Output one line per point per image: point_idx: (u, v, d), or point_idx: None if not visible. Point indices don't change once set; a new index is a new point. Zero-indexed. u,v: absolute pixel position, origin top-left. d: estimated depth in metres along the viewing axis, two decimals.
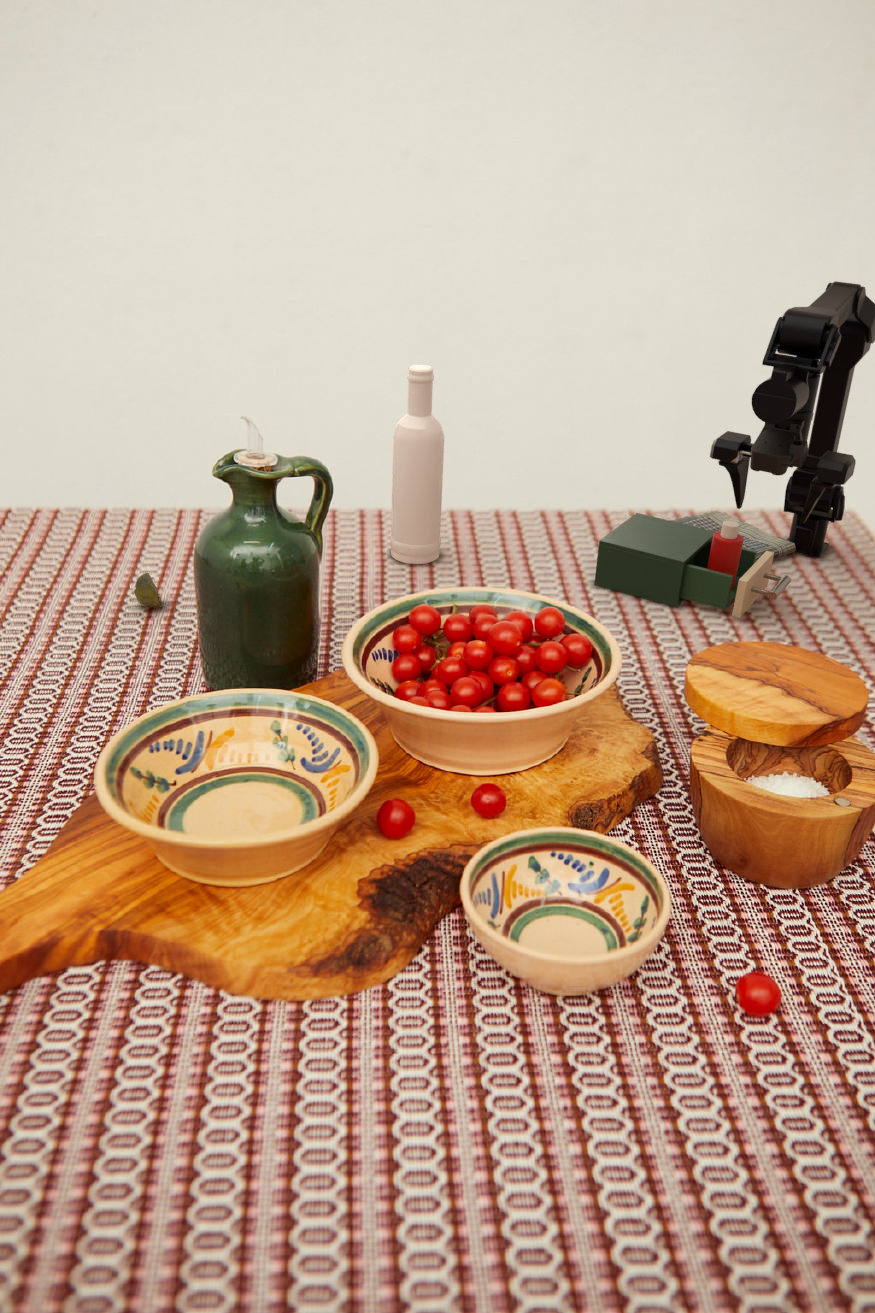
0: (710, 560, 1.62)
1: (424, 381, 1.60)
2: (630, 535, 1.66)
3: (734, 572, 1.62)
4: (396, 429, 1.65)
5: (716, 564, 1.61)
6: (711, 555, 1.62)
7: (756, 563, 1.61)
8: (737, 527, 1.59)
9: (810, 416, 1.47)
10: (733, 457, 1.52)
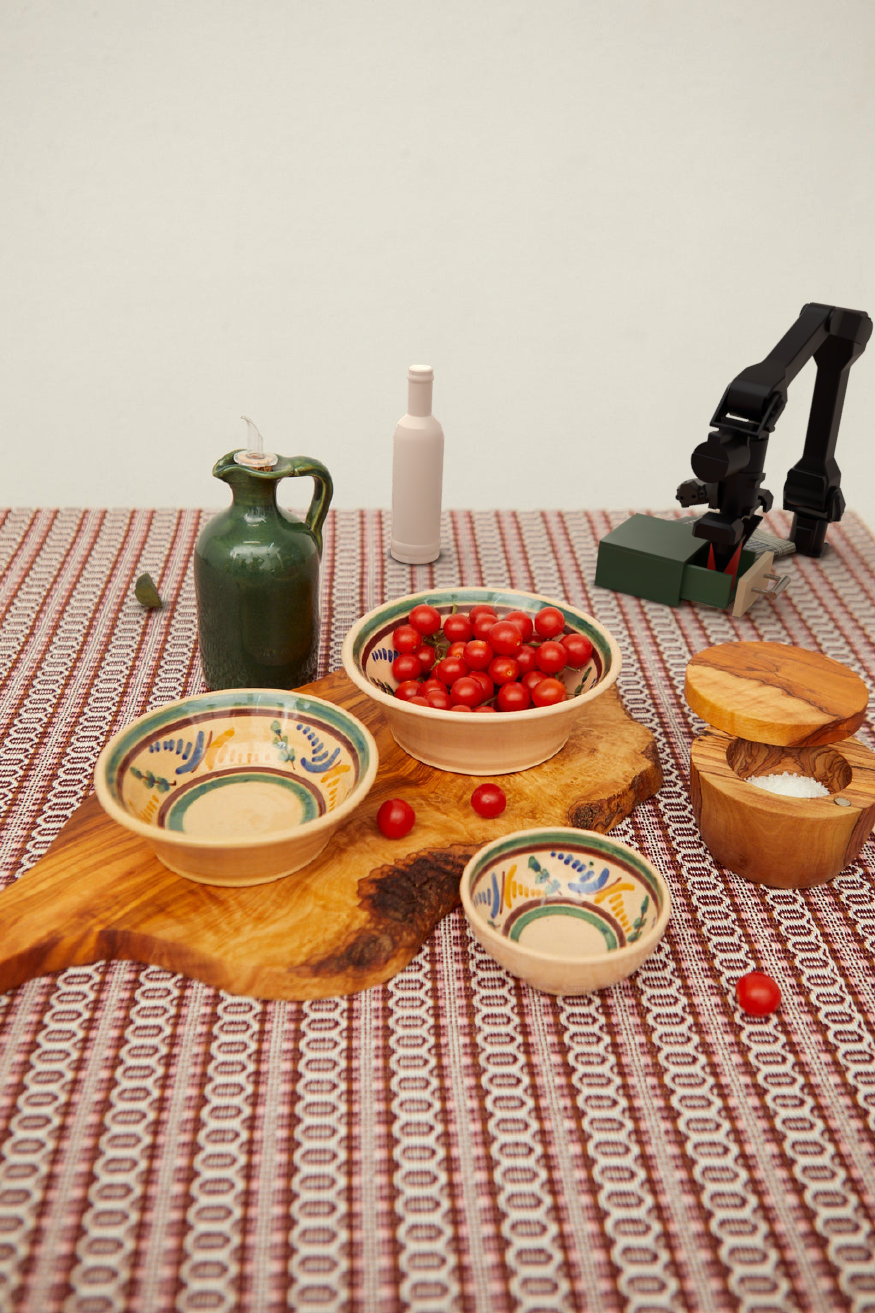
0: (710, 560, 1.62)
1: (424, 381, 1.60)
2: (630, 535, 1.66)
3: (733, 572, 1.62)
4: (396, 429, 1.65)
5: None
6: (710, 555, 1.62)
7: (756, 563, 1.61)
8: None
9: (732, 475, 1.54)
10: None
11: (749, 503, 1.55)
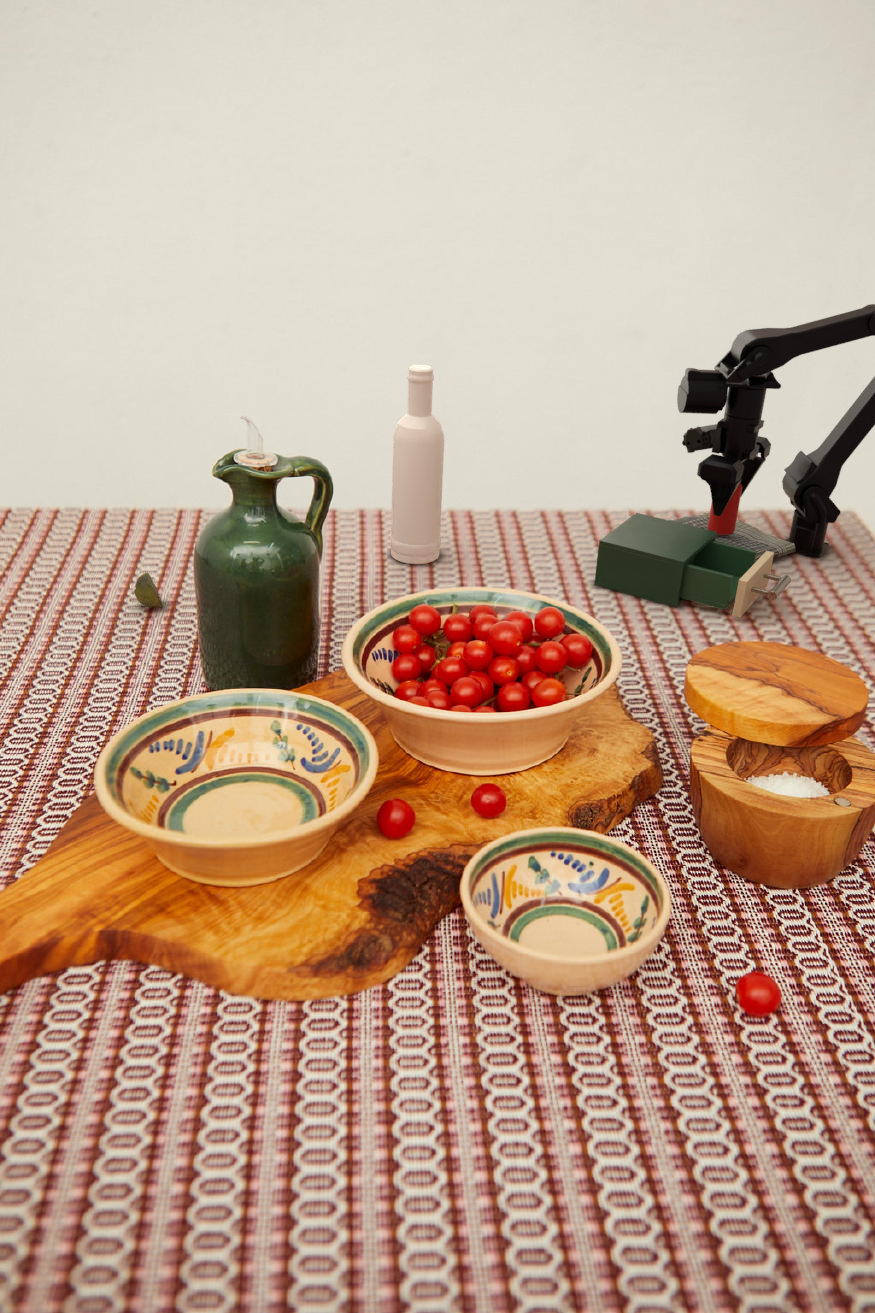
0: (712, 506, 1.80)
1: (424, 381, 1.60)
2: (630, 535, 1.66)
3: (734, 516, 1.79)
4: (396, 429, 1.65)
5: None
6: None
7: (756, 563, 1.61)
8: None
9: (733, 421, 1.71)
10: None
11: (749, 447, 1.73)
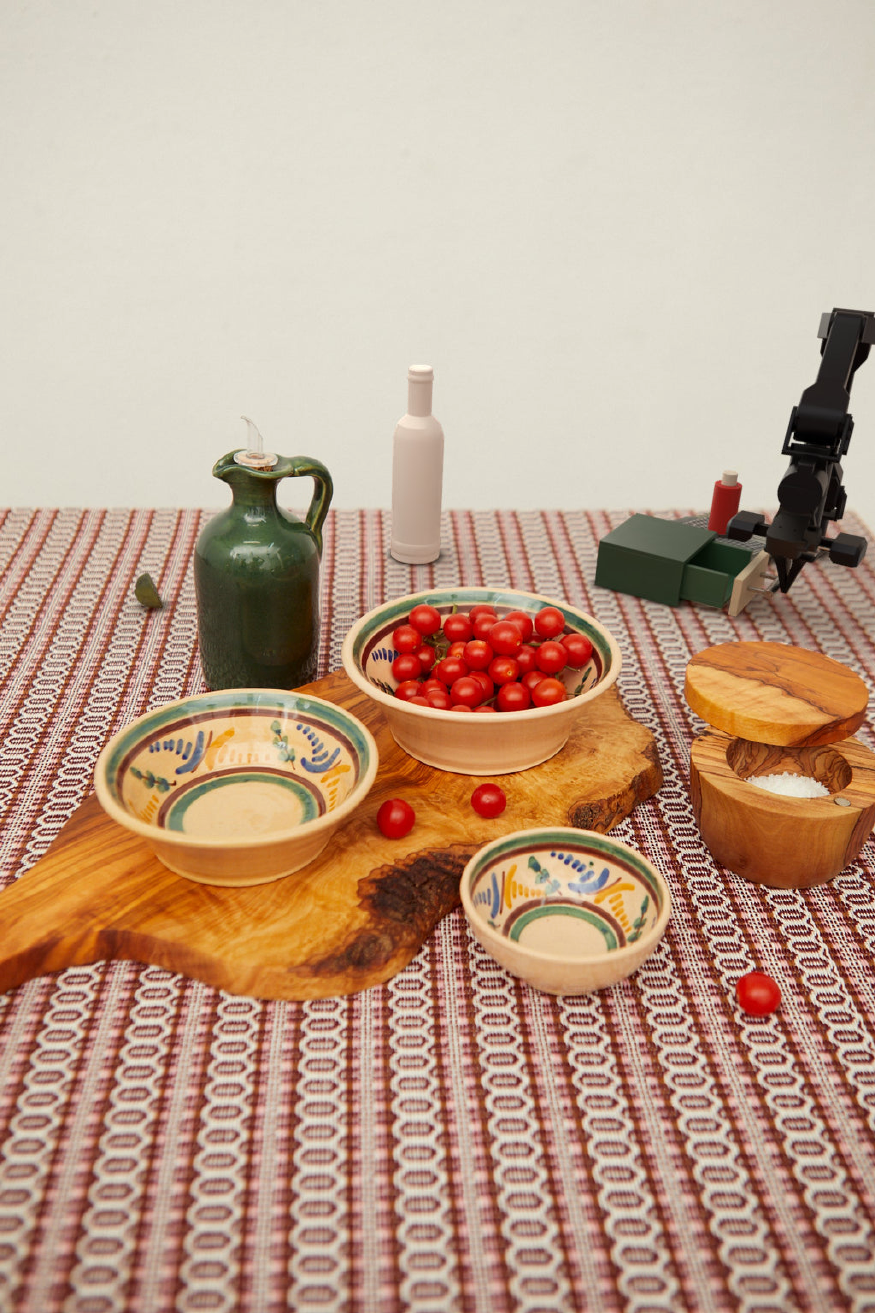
0: (712, 506, 1.80)
1: (424, 381, 1.60)
2: (630, 535, 1.66)
3: None
4: (396, 429, 1.65)
5: (718, 509, 1.79)
6: (713, 502, 1.80)
7: (752, 562, 1.61)
8: (736, 475, 1.77)
9: (823, 500, 1.51)
10: (748, 538, 1.56)
11: None
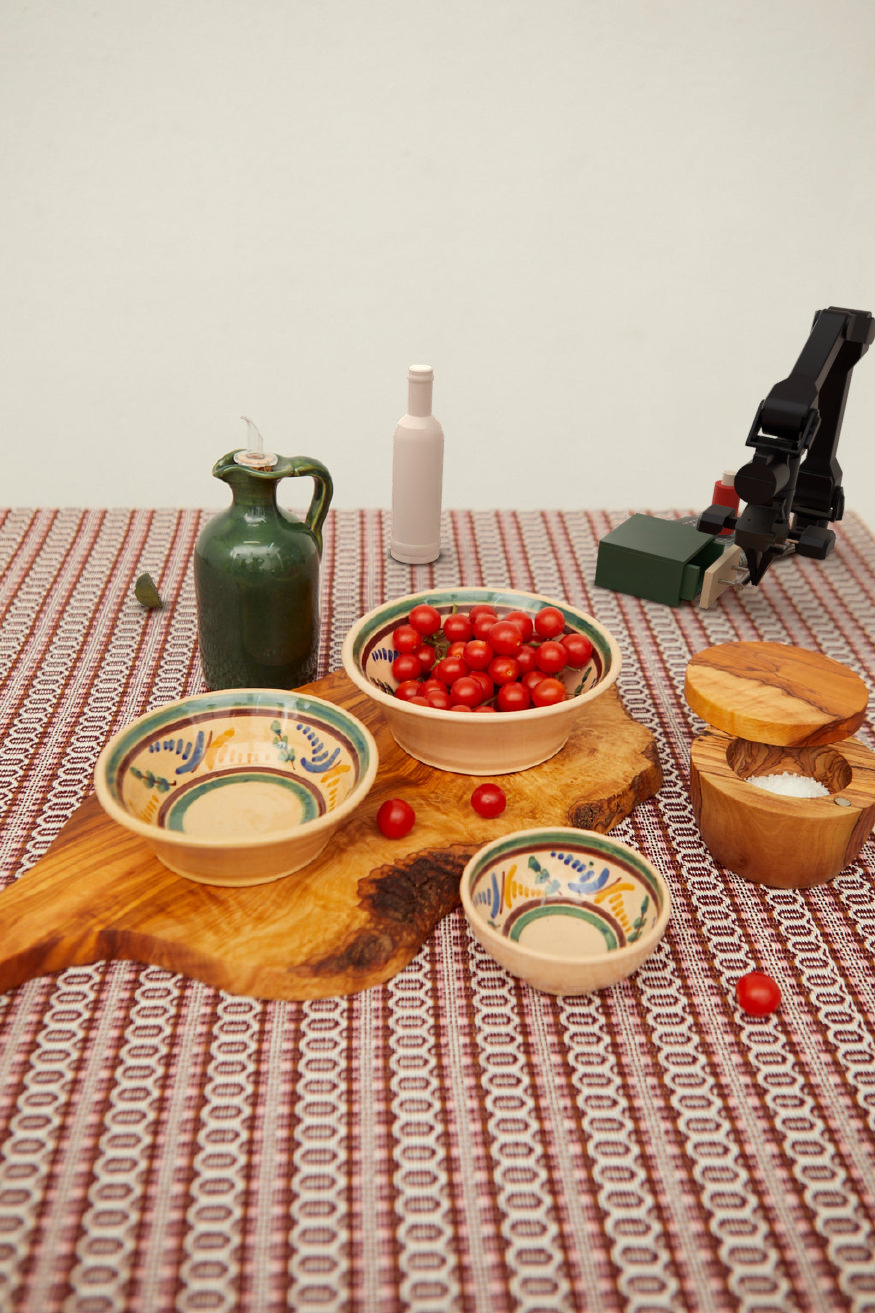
0: None
1: (424, 381, 1.60)
2: (630, 535, 1.66)
3: None
4: (396, 429, 1.65)
5: None
6: (713, 502, 1.80)
7: (723, 555, 1.63)
8: None
9: (792, 494, 1.53)
10: (718, 531, 1.58)
11: None
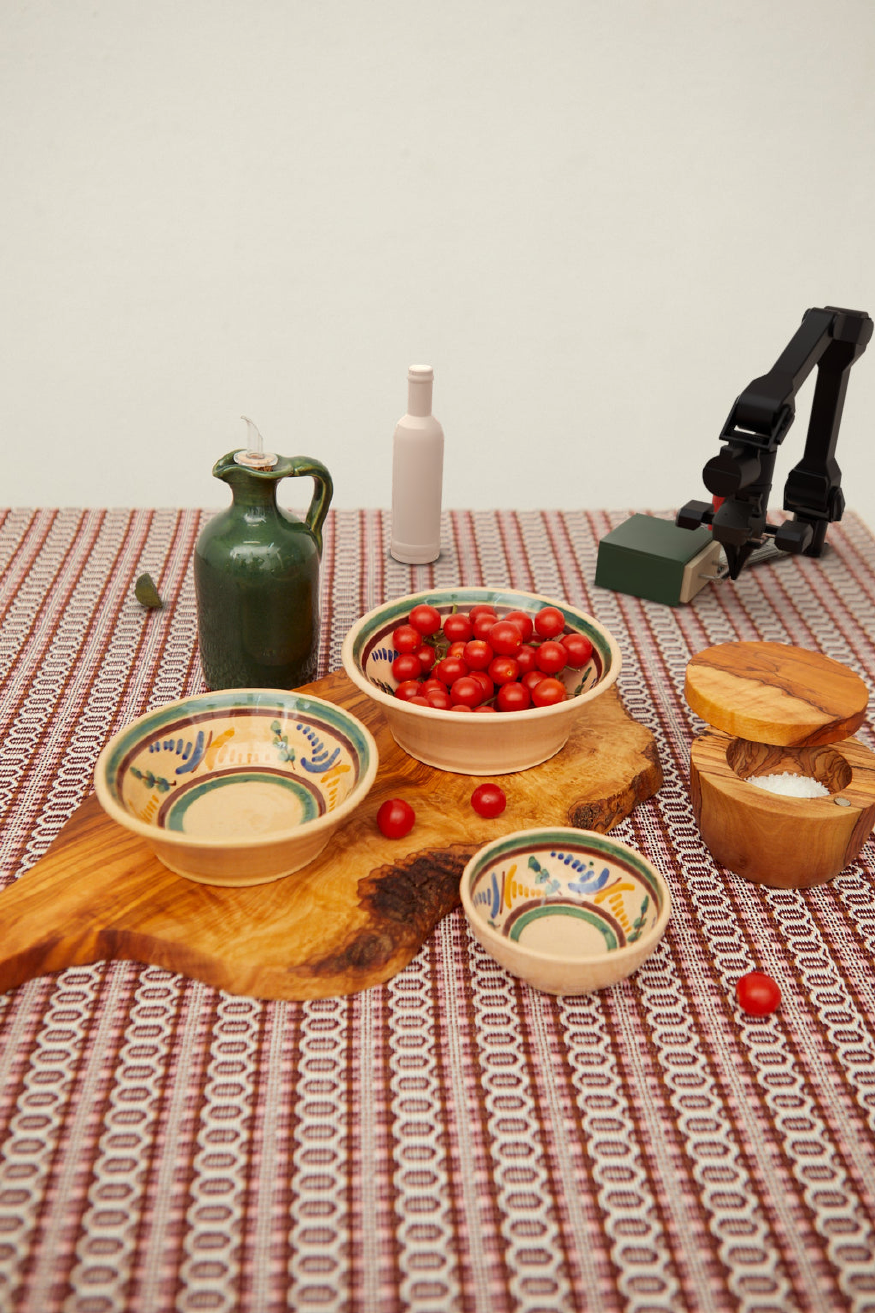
0: None
1: (424, 381, 1.60)
2: (630, 535, 1.66)
3: None
4: (396, 429, 1.65)
5: (718, 509, 1.79)
6: (713, 502, 1.80)
7: (703, 550, 1.64)
8: None
9: (768, 488, 1.54)
10: (697, 526, 1.59)
11: None
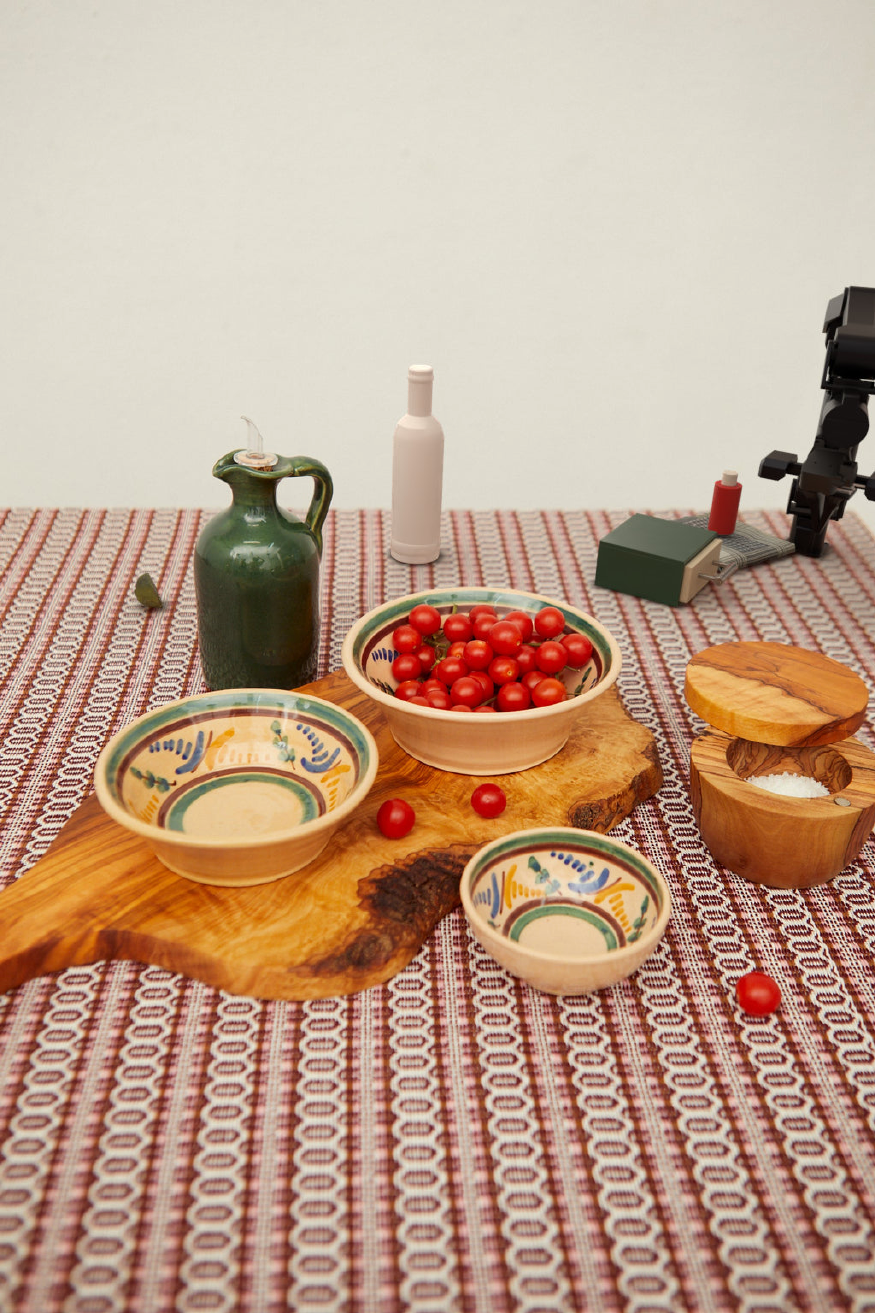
0: (712, 506, 1.80)
1: (424, 381, 1.60)
2: (630, 535, 1.66)
3: (734, 516, 1.79)
4: (396, 429, 1.65)
5: (718, 509, 1.79)
6: (713, 502, 1.80)
7: (703, 550, 1.64)
8: (736, 475, 1.77)
9: None
10: (781, 476, 1.54)
11: None
